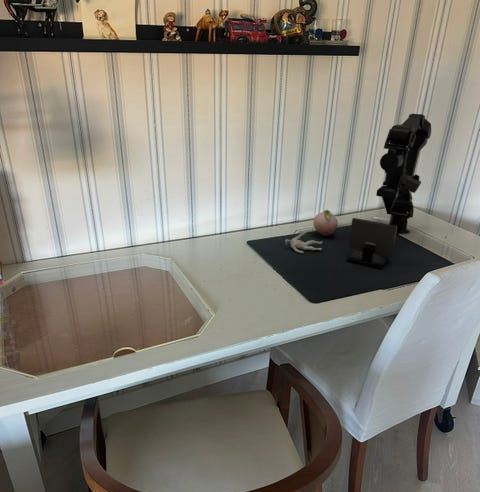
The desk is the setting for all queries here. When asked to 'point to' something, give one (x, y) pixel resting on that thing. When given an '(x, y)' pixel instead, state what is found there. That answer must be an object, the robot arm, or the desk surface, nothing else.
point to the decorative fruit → (325, 223)
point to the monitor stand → (368, 258)
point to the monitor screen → (372, 236)
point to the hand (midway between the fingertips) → (388, 212)
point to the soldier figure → (302, 244)
